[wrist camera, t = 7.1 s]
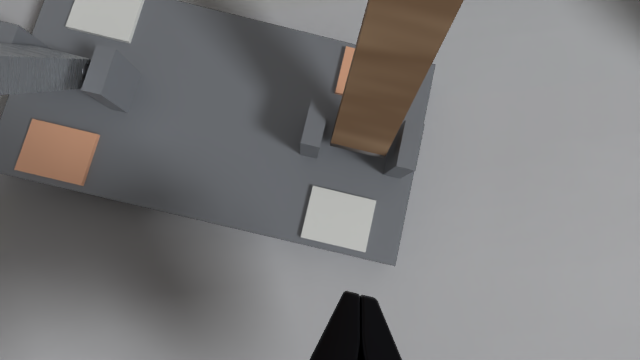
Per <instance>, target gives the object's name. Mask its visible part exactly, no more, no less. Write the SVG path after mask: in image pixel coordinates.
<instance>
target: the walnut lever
mask: <svg viewBox="0 0 640 360" xmlns="http://www.w3.org/2000/svg"><path fill="white" fill-rule="evenodd" d="M462 2H463V0H368V3H367V7H366V10H365V14H364V18H363V21H362V25H361V29H360V32H359V36H358V40H357V44H356V47H355V51H354V55H353V58H352V62H351V66H350V69H349V73H348V77H347V80H346V84H345V88H344V91H343V95H342V99H341V103H340V106H339V110H338V114H337V117H336V121H335V125H334V129H333V133H332V137H331V141H330V146H333V147H337V148H341V149H345V150H349V151H353V152H358V153H362V154H366V155H370V156H374V157H378V158H382V159H384V158H385V156H386V154H387V152H388V150H389V148H390V146H391V144H392V142H393V140H394V138H395V136H396V134H397V132H398V130H399V128H400V126H401V124H402V122H403V120H404V118H405V116H406V114H407V112H408V110H409V108H410V106H411V104H412V102H413V100H414V98H415V96H416V94H417V92H418V90H419V88H420V86H421V84H422V82H423V80H424V78H425V76H426V74H427V72H428V70H429V68H430V66H431V64H432V62H433V60H434V58H435V56H436V54H437V52H438V50H439V48H440V46H441V44H442V42H443V40H444V38H445V36H446V34H447V32H448V30H449V28H450V26H451V24H452V22H453V20H454V18H455V16H456V14H457V12H458V10H459V8H460V6H461V4H462Z"/></svg>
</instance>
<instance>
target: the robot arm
mask: <svg viewBox="0 0 640 360" xmlns="http://www.w3.org/2000/svg"><path fill="white" fill-rule="evenodd" d="M310 360H402V359H401V357H400V354H399V352H398V349H397V347H396V344H395V342H394V340H393V337H392V335H391V332H390V330H389V328H388V325H387V323H386V320H385V318H384V316H383V313H382V311H381V308H380V306H379V303H378V301H377V300H376V299H375V298H373V297H369V296H365V295H361V296H359V294H357V293H353V292H349V291H345V292H344V293H343V294H342V296H341V298H340V300H339V302H338V304H337V306H336V308H335V310H334V312H333V314H332V316H331V318H330V320H329V322H328V324H327V326H326V328H325V330H324V332H323V334H322V336H321V338H320V340H319V342H318V344H317V346H316V348H315V350H314V352H313V354H312V356H311V358H310Z"/></svg>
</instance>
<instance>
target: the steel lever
mask: <svg viewBox="0 0 640 360" xmlns="http://www.w3.org/2000/svg"><path fill="white" fill-rule="evenodd" d="M90 62H91V59H89V58H85V57H81V56H76V55H72V54H68V53H64V52H60V51H56V50H52V49H48V48H44V47H39V46H32V45H19V44H6V43H0V95H7V94H20V93H32V92H45V91H58V90H70V89H81V88H82V85H83V82H84V80H85V77H86V74H87V71H88V68H89V65H90Z"/></svg>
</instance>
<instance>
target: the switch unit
mask: <svg viewBox="0 0 640 360" xmlns="http://www.w3.org/2000/svg"><path fill="white" fill-rule="evenodd" d="M0 43H6V44H19V45H32V46H39V47H44V48H48V49H52V50H56V51H60V52H64V53H68V54H72V55H76V56H81V57H85V58H89V59H91V62H90V65H89V68H88V71H87V74H86V77H85V80H84V82H83V85H82V88H81V89H70V90H58V91H45V92H32V93H20V94H9V97H8V100H7V102H6V105H5V108H4V110H3V113H2V116H1V119H0V173H1V174H5V175H9V176H14V177H18V178H22V179H26V180H31V181H35V182H39V183H43V184H48V185H52V186H56V187H60V188H65V189H69V190H73V191H77V192H82V193H86V194H90V195H94V196H99V197H103V198H107V199H111V200H116V201H120V202H124V203H128V204H133V205H137V206H141V207H145V208H150V209H154V210H158V211H162V212H167V213H171V214H175V215H179V216H184V217H188V218H192V219H196V220H201V221H205V222H209V223H213V224H218V225H222V226H226V227H230V228H235V229H239V230H243V231H247V232H252V233H256V234H260V235H264V236H269V237H273V238H277V239H281V240H286V241H290V242H294V243H298V244H303V245H307V246H311V247H315V248H320V249H324V250H328V251H333V252H337V253H341V254H345V255H350V256H354V257H358V258H362V259H367V260H371V261H375V262H379V263H384V264H388V265H392V266H395V265H396V260H397V255H398V250H399V245H400V240H401V235H402V230H403V225H404V220H405V215H406V210H407V205H408V200H409V195H410V190H411V185H412V180H413V175H414V171H415V170H416V165H417V160H418V155H419V150H420V145H421V140H422V135H423V130H424V125H425V124H424V119H425V114H426V109H427V104H428V99H429V94H430V89H431V84H432V79H433V74H434V69H435V64H431V66H430V68H429V70H428V72H427V74H426V76H425V78H424V80H423V82H422V84H421V86H420V88H419V90H418V92H417V94H416V96H415V98H414V100H413V102H412V104H411V106H410V108H409V110H408V112H407V114H406V116H405V118H404V120H403V122H402V124H401V126H400V128H399V130H398V132H397V134H396V136H395V138H394V140H393V142H392V144H391V146H390V148H389V150H388V152H387V154H386V156H385V158H384V159H382V158H378V157H374V156H370V155H366V154H362V153H358V152H353V151H349V150H345V149H341V148H337V147H333V146H330V141H331V137H332V133H333V129H334V125H335V121H336V117H337V114H338V110H339V106H340V103H341V99H342V95H343V91H344V88H345V84H346V80H347V77H348V73H349V69H350V66H351V62H352V58H353V55H354V51H355V47H356V45H355V44H351V43H347V42H343V41H339V40H335V39H331V38H327V37H323V36H319V35H315V34H311V33H307V32H303V31H298V30H294V29H290V28H286V27H282V26H278V25H274V24H270V23H266V22H262V21H258V20H254V19H250V18H246V17H242V16H238V15H234V14H230V13H226V12H222V11H218V10H214V9H210V8H206V7H201V6H197V5H193V4H189V3H185V2H181V1H177V0H44V3H43V5H42V8H41V11H40V13H39V16H38V19H37V21H36V24H35V27H34V30H33V32H32V35H31V34H30V33H29V32H27V31H26V30H25V29H23V28H22V27H20V26H19V25H16V24H11V23H7V22H3V21H0Z"/></svg>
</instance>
